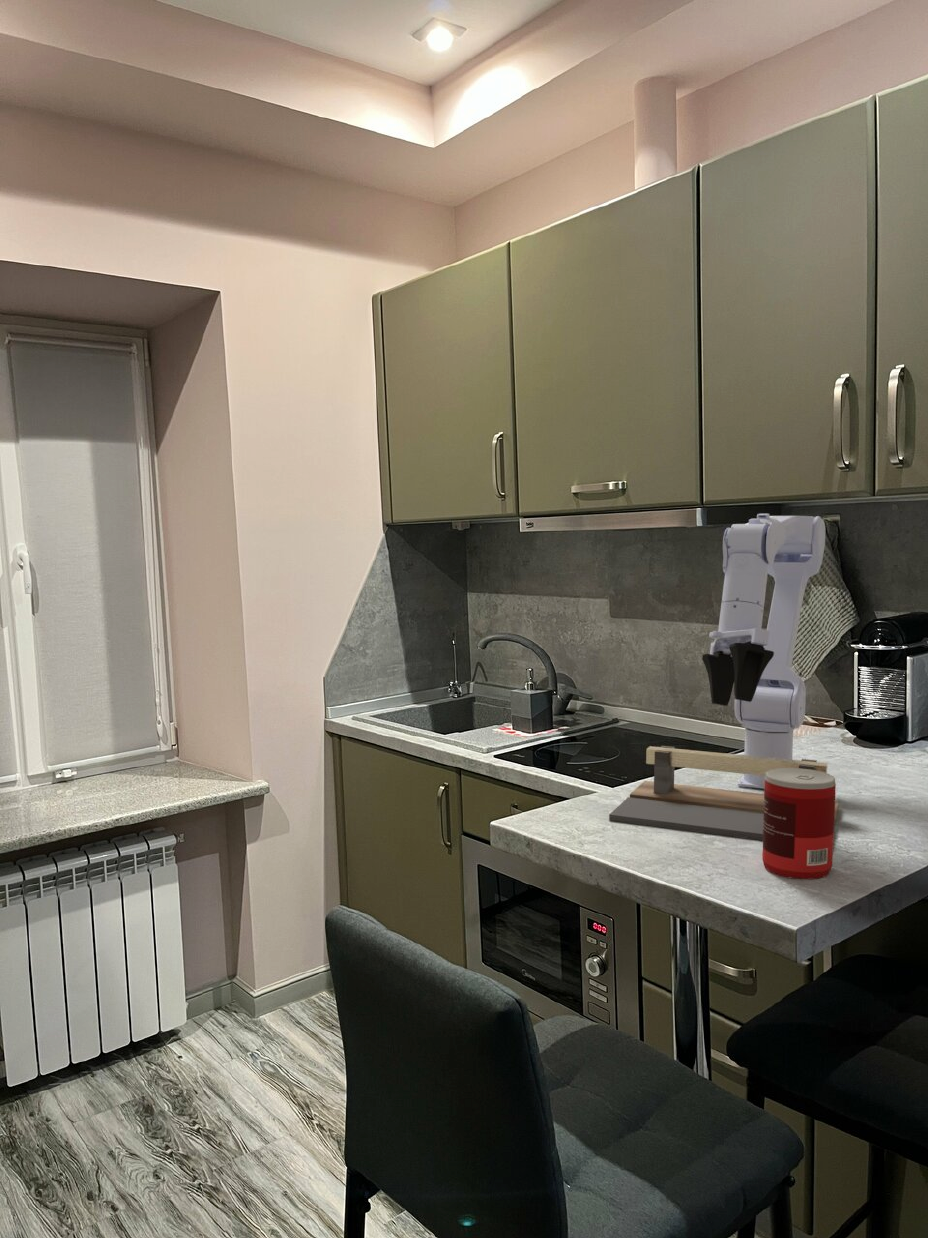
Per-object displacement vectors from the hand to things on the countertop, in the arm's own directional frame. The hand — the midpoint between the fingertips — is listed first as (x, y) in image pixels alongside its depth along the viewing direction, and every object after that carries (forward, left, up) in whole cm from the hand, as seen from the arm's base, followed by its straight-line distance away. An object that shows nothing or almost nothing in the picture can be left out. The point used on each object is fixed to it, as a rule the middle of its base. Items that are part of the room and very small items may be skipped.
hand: (731, 702), depth 131 cm
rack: (-6, 0, -16) cm, 17 cm away
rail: (-6, 0, -11) cm, 13 cm away
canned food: (+19, +11, -16) cm, 27 cm away
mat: (+4, 0, -16) cm, 16 cm away
